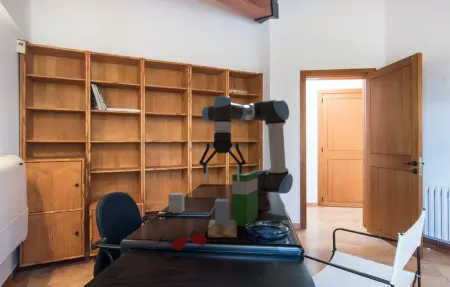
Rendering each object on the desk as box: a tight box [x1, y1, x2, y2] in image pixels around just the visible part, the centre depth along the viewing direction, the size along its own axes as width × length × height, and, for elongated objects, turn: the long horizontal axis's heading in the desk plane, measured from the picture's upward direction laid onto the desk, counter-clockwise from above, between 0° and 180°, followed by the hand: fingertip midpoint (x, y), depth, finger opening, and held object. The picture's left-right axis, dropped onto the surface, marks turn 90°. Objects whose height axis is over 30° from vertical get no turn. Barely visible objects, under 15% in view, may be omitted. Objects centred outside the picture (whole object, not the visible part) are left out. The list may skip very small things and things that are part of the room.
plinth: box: [207, 219, 238, 238], centre depth 129 cm, size 12×12×4 cm
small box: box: [167, 192, 185, 214], centre depth 168 cm, size 8×6×10 cm
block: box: [214, 198, 230, 225], centre depth 129 cm, size 6×6×10 cm
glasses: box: [160, 230, 208, 251], centre depth 117 cm, size 14×16×5 cm
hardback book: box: [231, 171, 258, 227], centre depth 148 cm, size 18×7×24 cm, turn 157°
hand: (222, 180), depth 129 cm, fingers open, 13 cm apart
